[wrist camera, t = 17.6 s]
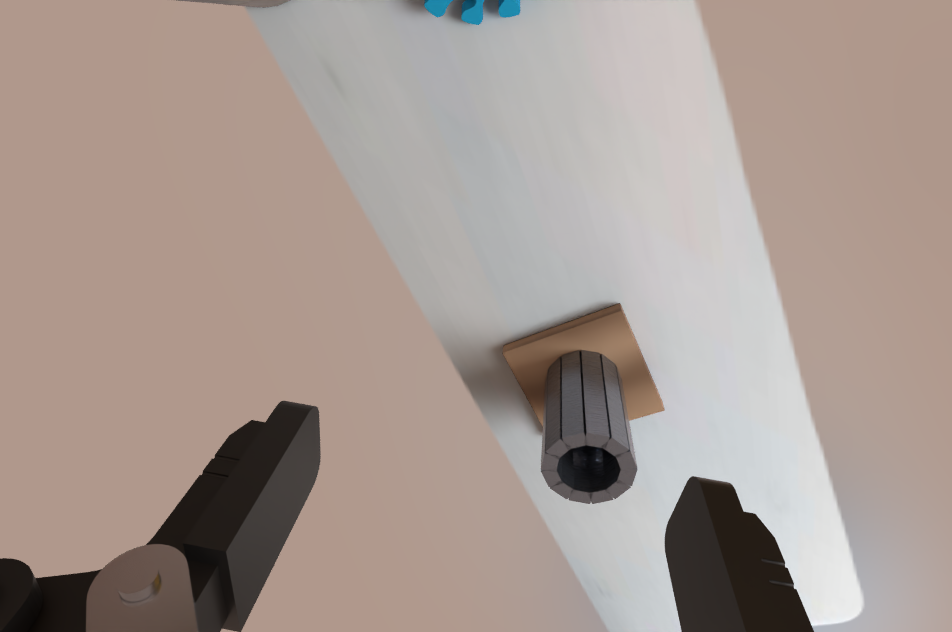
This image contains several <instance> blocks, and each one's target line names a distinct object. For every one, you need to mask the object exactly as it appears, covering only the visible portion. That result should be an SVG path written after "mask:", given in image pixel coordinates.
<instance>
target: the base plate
mask: <svg viewBox="0 0 952 632" xmlns="http://www.w3.org/2000/svg"><path fill="white" fill-rule="evenodd" d="M577 350H579V351H580V353H581V350H586V351H592V352H598V353H600V354H603V355H604V356H606V357H607V358H608V359H610V360H611V361H612V362H614V363H615V365H616V366H617V368H618V371H619V373H620V376H621V379H622V384H623V389H624V395H625V401H626V407H627V412H628V418H629V420H633V419H636V418H640V417H643V416H647V415H650V414H654V413H657V412H661V411H664V406H663V402H662V400H661V397H660V395H659V393H658V390H657V388H656V386H655V383H654V381H653V379H652V376H651V374H650V372H649V369H648V367H647V365H646V362H645V360H644V358H643V355H642V353H641V351H640V349H639V346H638V344H637V342H636V339H635V337H634V335H633V332H632V330H631V328H630V325H629V323H628V321H627V318H626V316H625V314H624V311H623V309H622V307H621V304H617V305H614V306H611V307H609V308H606V309H603V310H600V311H598V312H595V313H592V314H589V315H587V316H584V317H581V318H578V319H576V320H573V321H570V322H567V323H565V324H562V325H559V326H556V327H554V328H551V329H548V330H545V331H543V332H540V333H537V334H534V335H532V336H529V337H526V338H523V339H521V340H518V341H515V342H512V343H510V344H507V345H504V347H503V355H504V357H505V359H506V361H507V363H508V364H509V366H510V368H511V370H512V372H513V373H514V375H515V377H516V379H517V381H518V383H519V384H520V386H521V388H522V390H523V392H524V394H525V395H526V397H527V399H528V401H529V403H530V404H531V406H532V408H533V410H534V412H535V414H536V415H537V417H538V419H539V421H540V423H541V425H542V426H543V413H544V392H545V380H546V375H547V370H548V369H549V366H550V365H551V364H552V363H553V362H555V361H556V360H557V359H558V358H559V357H560V356H561V357H562V355H563V354H567V353H570V352H574V351H577Z"/></svg>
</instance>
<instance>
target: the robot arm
mask: <svg viewBox="0 0 952 632" xmlns="http://www.w3.org/2000/svg"><path fill="white" fill-rule="evenodd" d="M178 1H191V2H203V3H216V4H225V5H238V6H251V7H263V8H264V7H272V6H278V5H281V4H283V3H285V2H288V1H290V0H178ZM319 465H320V428H319V411H318V408H317V407H316V406H310V405H305V404H299V403H293V402H288V401H281V402H280V403H279V404H278V405H277V406H276V408H275V409H274V411H273V412H272V413H271V415H270V416H269V418H268V419H267V421H266V422H259V421H254V420H251V421H250V422H248V423H247V424H245V425H244V426H243V427H241V428H240V429H238V430H237V431H235V432H234V433H232V434H231V435H229V437H228V438H227V439H226V441H225V442H224V444H223V445H222V446H221V447H220V449H219V450H218V452H217V453H216V454H215V458H214V459H212V460H211V461H210V462H209V464H208V465H207V466H206V468H205V469H204V470H203V474H202V475H200V476H199V477H198V478H197V480H196V481H195V482H194V484H193V485H192V486H191V488H190V489H189V490H188V492H187V493H186V494H185V496H184V497H183V498H182V500H181V501H180V502H179V504H178V505H177V506H176V508H175V509H174V510H173V512H172V513H171V514H170V516H169V517H168V518H167V520H166V521H165V522H164V524H163V525H162V526H161V528H160V529H159V530H158V532H157V533H156V534H155V536H154V537H153V538H152V539H151V540H150V541H149V542H148V543H147V544H146V545H145V546H141V547H137V548H134V549H132V550H129V551H127V552H125V553H123V554H121V555H120V556H118V557H117V558H115V559H114V560H112V561H111V562H110V563H108V564H107V565H106V566H105V567H104V568H103V569H101V570H98V571H92V572H86V573H77V574H69V575H60V576H52V577H42V578H35V577H34V575H33V573H32V571H31V569H30V567H29V566H28V565H26V564H25V563H23V562H21V561H19V560H15V559H6V558H3V559H0V632H220V631H221V629H222V628H223V629H228V630H233V631H238V632H241V630H242V628H243V626H244V624H245V622H246V620H247V618H248V616H249V614H250V612H251V610H252V608H253V606H254V604H255V602H256V600H257V598H258V596H259V594H260V592H261V590H262V588H263V586H264V584H265V582H266V580H267V578H268V576H269V574H270V572H271V570H272V568H273V566H274V564H275V562H276V560H277V558H278V556H279V554H280V552H281V550H282V548H283V546H284V544H285V542H286V540H287V538H288V536H289V534H290V532H291V530H292V528H293V526H294V524H295V522H296V520H297V518H298V516H299V514H300V511H301V510H302V508H303V506H304V504H305V501H306V500H307V498H308V496H309V493H310V492H311V490H312V487H313V485H314V483H315V480H316V477H317V474H318V470H319ZM665 553H666V558H667V563H668V568H669V572H670V577H671V582H672V587H673V592H674V597H675V601H676V606H677V611H678V616H679V621H680V625H681V630H682V632H814V631H813V628H812V626H811V623H810V621H809V618H808V616H807V614H806V611H805V609H804V607H803V604H802V602H801V599H800V597H799V595H798V592H797V590H796V589H794V583H793V580H792V578H791V575H790V573H789V571H788V568H785V561H784V559H783V556H782V554H781V552H780V549H779V547H778V544H777V542H776V540H775V537H774V536H773V535H772V534H771V533H770V531H769V530H768V529H767V528H766V526H765V525H764V524H763V523H762V522H761V520H760V519H759V518H758V517H757V515H756V514H753V513H748V512H743V509H742V507H741V504H740V501H739V499H738V496H737V493H736V491H735V489H734V487H733V485H731V484H730V483H728V482H722V481H716V480H711V479H705V478H700V477H694V476H693V477H691V478H689V480H688V481H687V483H686V485H685V487H684V490H683V492H682V494H681V496H680V498H679V500H678V502H677V504H676V507H675V509H674V511H673V513H672V515H671V517H670V519H669V521H668V524H667V528H666V533H665Z"/></svg>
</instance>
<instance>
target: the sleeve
mask: <svg viewBox="0 0 952 632" xmlns="http://www.w3.org/2000/svg"><path fill="white" fill-rule="evenodd" d="M541 472H542V474H543V476H544V478H545V480H546V482H547V484H548V486H549V487H550V489H552V490H553V491H555V492H556V493H558V494H559V495H561V496H562V497H564V498H565V499H568V498H569V500H571V501H576V502H582V503H587V504H590V502H592V504H595V503H600V502H605V501H610V500H613V498H615V499H616V498H617V497H619V496H620V495H621V494H623V493H624V492H625V491H627V490H628V489H629V488H631V487H630V486H632V484H633V481H634V478H635V475H636V472H637V464H636V458H635V452H634V447H633V441H632V435H631V429H630V424H629V418H628V412H627V407H626V401H625V395H624V389H623V384H622V379H621V376H620V373H619V371H618V368H617V366H616V365H615V363H614V362H612V361H611V360H610V359H608V358H607V357H606V356H604V355H603V354H600V353H598V352H592V351H586V350H581V353H580V351H579V350H577V351H574V352H570V353H567V354H563V355H562V357H561V356H560V357H559V358H558V359H557V360H556V361H555V362H553V363H552V364H551V365H550V366H549V369H548V370H547V375H546V380H545V392H544V413H543V435H542V457H541Z"/></svg>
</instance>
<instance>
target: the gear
mask: <svg viewBox="0 0 952 632" xmlns="http://www.w3.org/2000/svg"><path fill="white" fill-rule="evenodd" d="M451 1H453V0H425V3H424V6H425V8H426V9H427V10H428V11H429V12H430V13H432V14H433V15H434V16H436V17H440V16H442V15H444V13H445V11H446V8H447V7H448V5H449V4H450V2H451ZM483 2H484V0H465V1H464V2H463V4H462V20H463V21H465V22H467V23H471V24H476V25H479V24H480V23H481V22H482V20H483ZM519 13H520V0H499V15H500V16H501V17H512V16H516V15H519Z"/></svg>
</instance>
